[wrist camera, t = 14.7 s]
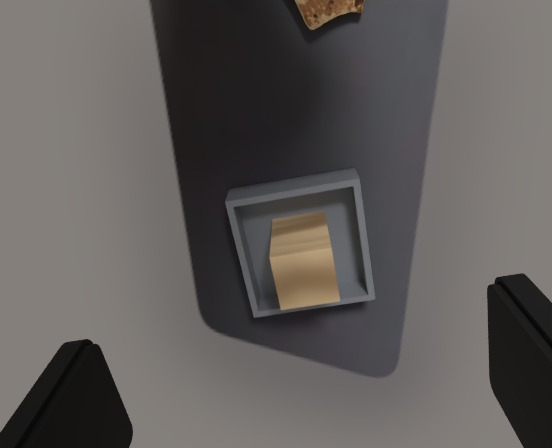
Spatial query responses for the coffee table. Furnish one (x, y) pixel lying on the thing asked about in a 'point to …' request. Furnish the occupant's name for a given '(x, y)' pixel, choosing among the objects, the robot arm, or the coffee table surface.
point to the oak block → (303, 261)
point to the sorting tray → (296, 201)
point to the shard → (326, 10)
